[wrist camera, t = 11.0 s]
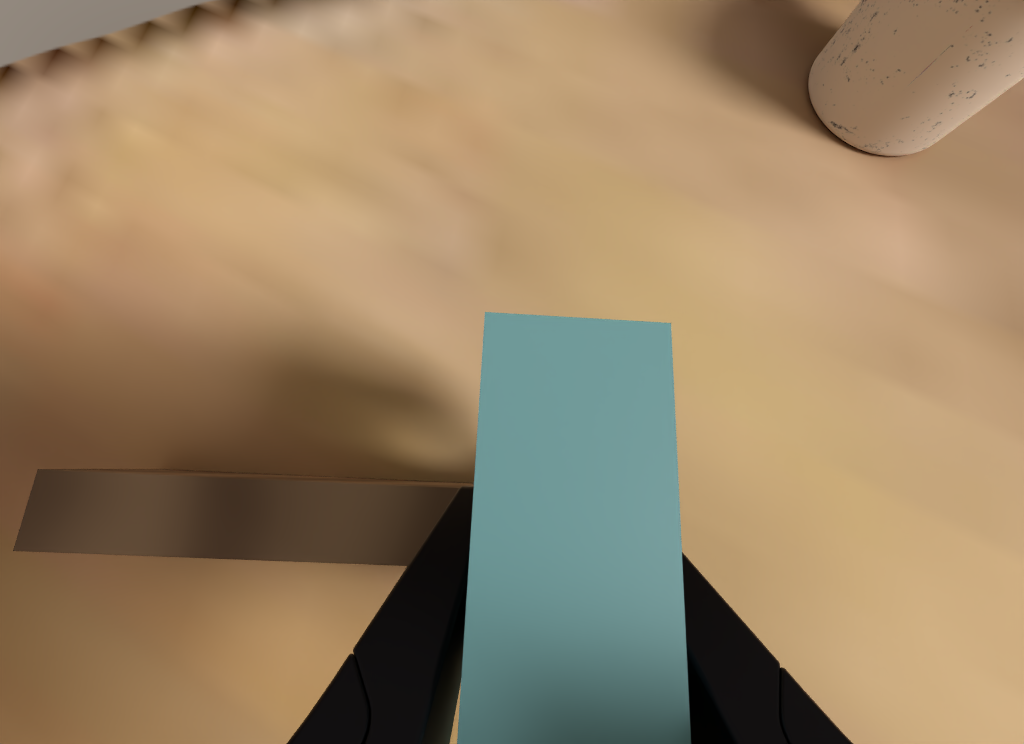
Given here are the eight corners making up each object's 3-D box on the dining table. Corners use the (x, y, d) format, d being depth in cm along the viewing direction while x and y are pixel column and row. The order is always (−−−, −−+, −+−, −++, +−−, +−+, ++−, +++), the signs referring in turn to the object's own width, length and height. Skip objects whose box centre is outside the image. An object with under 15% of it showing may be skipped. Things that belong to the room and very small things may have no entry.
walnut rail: (601, 488, 19) (638, 495, 14) (601, 546, 18) (640, 574, 14) (158, 469, 18) (37, 469, 14) (144, 528, 18) (12, 550, 13)
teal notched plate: (553, 661, 13) (711, 1169, 4) (476, 659, 13) (429, 1171, 4) (557, 416, 15) (670, 322, 6) (490, 413, 15) (484, 312, 5)
